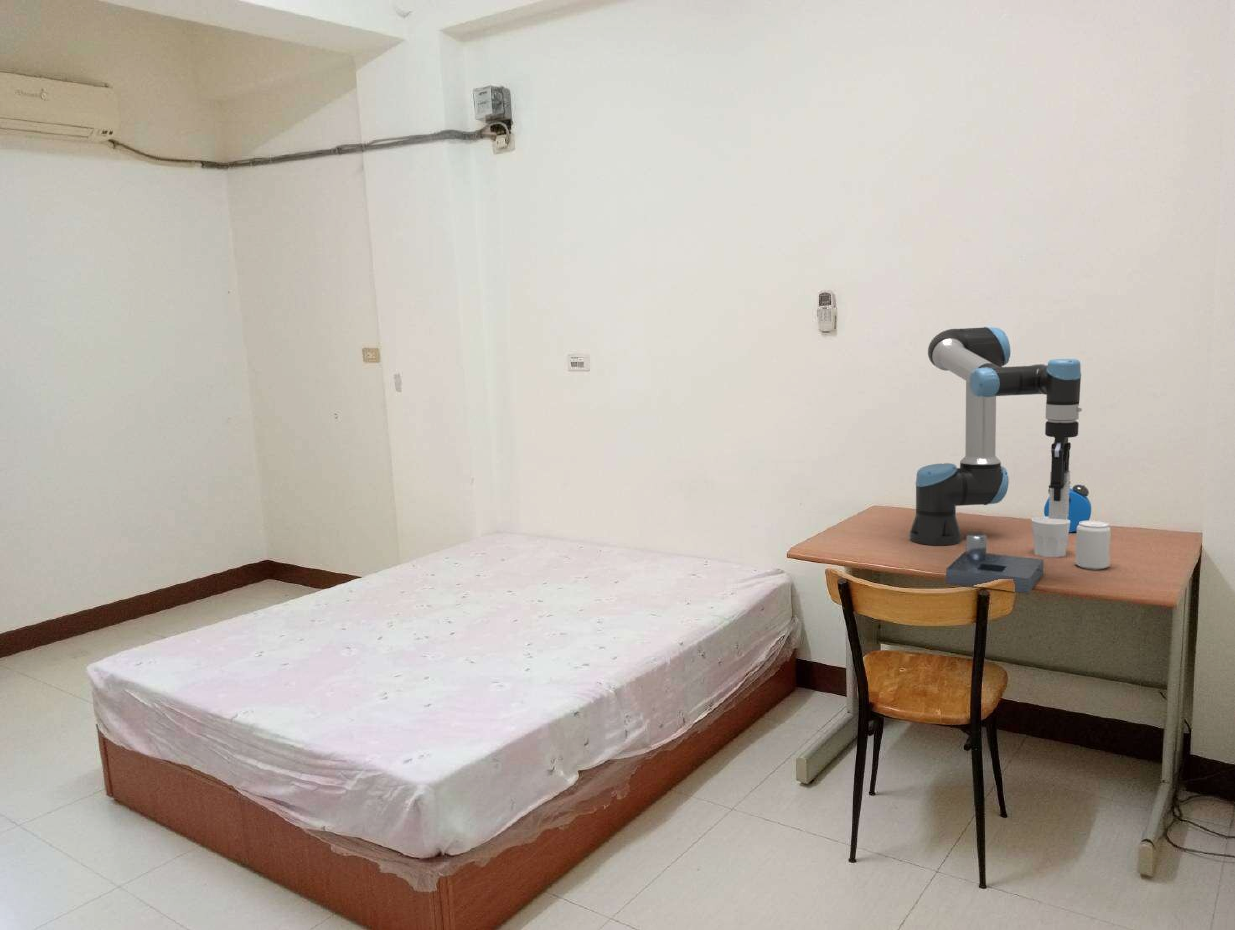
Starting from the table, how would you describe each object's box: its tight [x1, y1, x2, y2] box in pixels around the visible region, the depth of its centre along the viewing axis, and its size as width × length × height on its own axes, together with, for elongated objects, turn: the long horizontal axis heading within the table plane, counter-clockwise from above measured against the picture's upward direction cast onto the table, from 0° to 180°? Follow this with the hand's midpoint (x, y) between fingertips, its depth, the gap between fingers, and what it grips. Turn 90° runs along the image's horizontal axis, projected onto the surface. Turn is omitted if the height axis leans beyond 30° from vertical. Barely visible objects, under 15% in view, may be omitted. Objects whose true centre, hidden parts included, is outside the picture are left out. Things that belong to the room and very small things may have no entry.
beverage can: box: [1075, 520, 1111, 571], centre depth 245 cm, size 8×8×12 cm
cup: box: [1030, 516, 1070, 559], centre depth 259 cm, size 10×10×10 cm
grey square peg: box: [1048, 470, 1071, 520], centre depth 231 cm, size 4×4×12 cm
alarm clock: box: [1043, 484, 1092, 533], centre depth 284 cm, size 13×6×15 cm, turn 61°
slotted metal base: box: [945, 532, 1045, 595], centre depth 238 cm, size 20×20×10 cm
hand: (1058, 511), depth 232 cm, fingers closed on grey square peg, 4 cm apart
